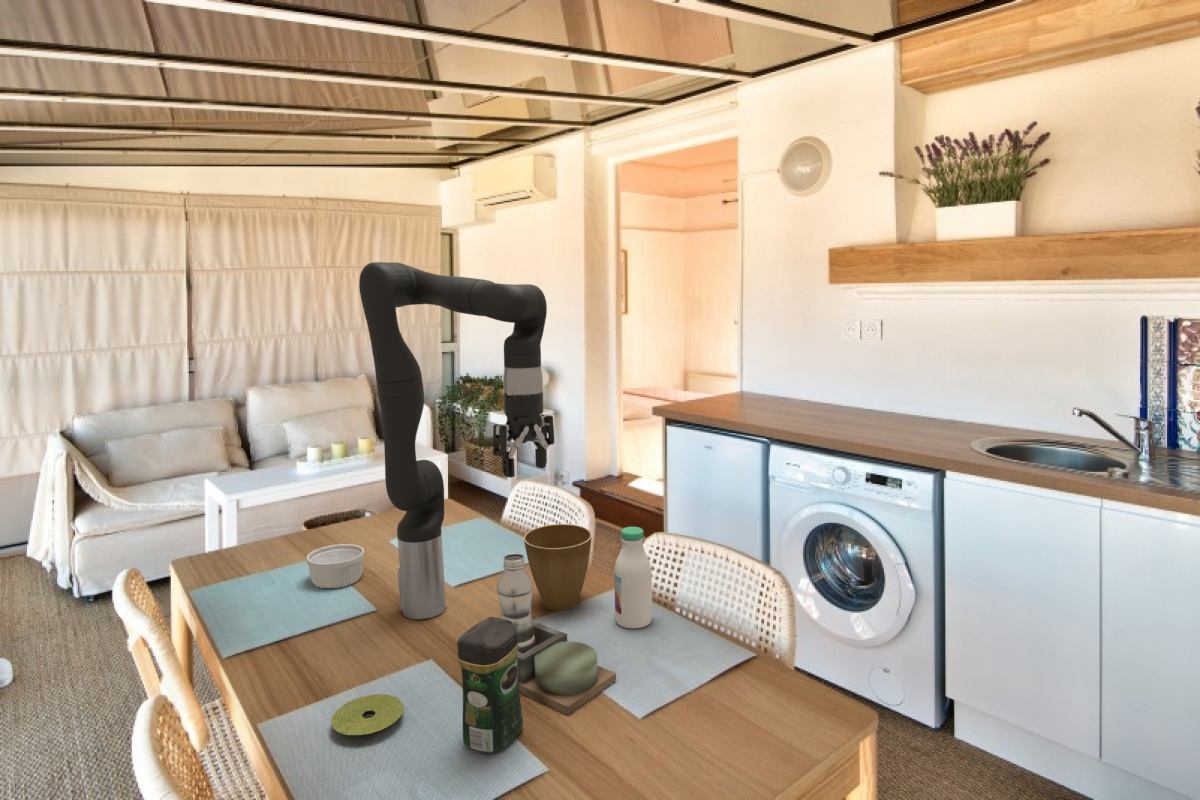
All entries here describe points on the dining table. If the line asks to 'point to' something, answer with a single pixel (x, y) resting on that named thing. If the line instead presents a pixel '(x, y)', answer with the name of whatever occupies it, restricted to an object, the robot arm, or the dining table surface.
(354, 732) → the green sanding disc
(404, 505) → the robot arm
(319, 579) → the ramekin
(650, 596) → the milk bottle
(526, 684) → the stand
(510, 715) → the coffee jar
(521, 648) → the plastic bottle
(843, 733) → the dining table surface
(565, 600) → the plant pot
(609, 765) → the dining table surface
